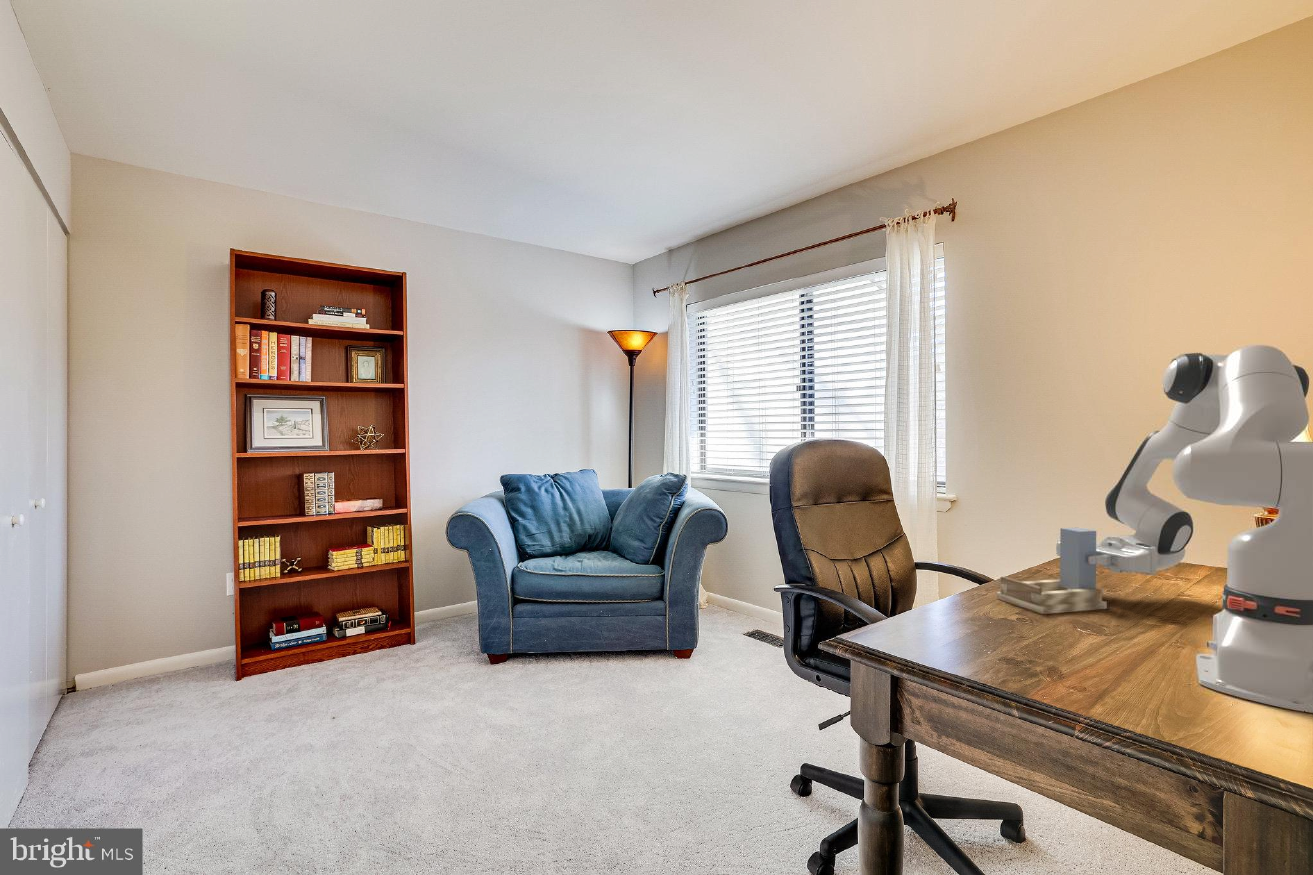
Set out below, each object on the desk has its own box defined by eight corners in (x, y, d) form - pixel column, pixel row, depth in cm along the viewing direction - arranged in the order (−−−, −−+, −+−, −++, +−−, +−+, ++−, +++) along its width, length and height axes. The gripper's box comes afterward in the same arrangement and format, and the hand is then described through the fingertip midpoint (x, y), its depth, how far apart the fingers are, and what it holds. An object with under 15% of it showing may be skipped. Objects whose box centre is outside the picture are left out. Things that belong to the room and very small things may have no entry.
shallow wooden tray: (1042, 614, 137) (1042, 589, 137) (996, 598, 150) (996, 575, 149) (1106, 608, 141) (1106, 584, 141) (1056, 593, 154) (1057, 571, 154)
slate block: (1078, 591, 145) (1079, 531, 144) (1059, 586, 149) (1060, 528, 149) (1095, 590, 146) (1096, 530, 146) (1076, 584, 151) (1077, 527, 150)
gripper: (1081, 534, 161) (1038, 536, 157) (1163, 548, 141) (1116, 551, 137) (1081, 558, 161) (1037, 561, 157) (1163, 576, 141) (1115, 580, 138)
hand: (1074, 556), depth 147 cm, fingers closed on slate block, 5 cm apart
